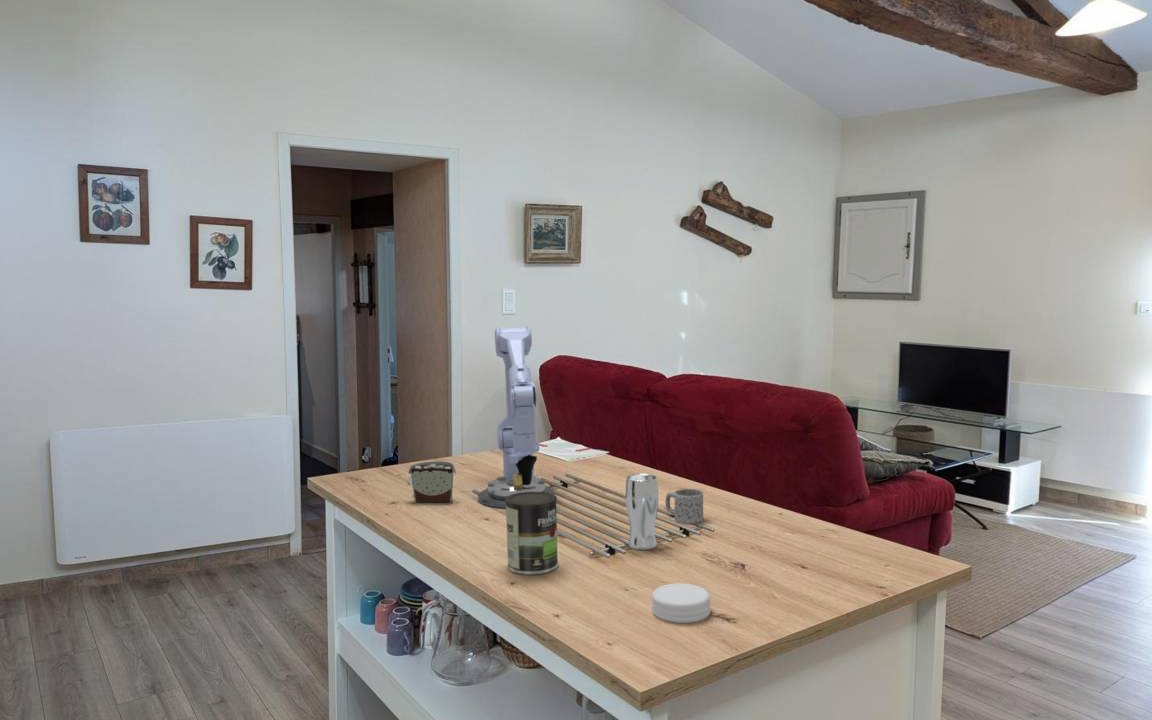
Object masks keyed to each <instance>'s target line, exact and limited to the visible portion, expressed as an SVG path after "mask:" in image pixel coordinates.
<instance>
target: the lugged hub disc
mask: <svg viewBox="0 0 1152 720" xmlns="http://www.w3.org/2000/svg"><path fill="white" fill-rule="evenodd" d="M545 487H546V482H545V479H541V478H538V477H537V478H533V477H532V479H531V484H529V485H523V474H522V473H514V474H513V477H507V478H506V477H504V476H501V477H497V479H493V480H491V481H489V482H488V483H487V489H488V496H489V497H491V498H494V499H498V500H505V498H506V497H508V496H510V495H512V494H516V493H521V492H545Z"/></svg>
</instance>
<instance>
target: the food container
mask: <svg viewBox="0 0 1152 720" xmlns="http://www.w3.org/2000/svg"><path fill="white" fill-rule="evenodd" d="M456 474H457V471H456V467H455V466H454V463H452V462H449V461H440V460H438V461H435V460H434V461H424V462H417V463H415V464H411V465H410V466H409V468H408V475H410V476H411V480H412V484H413V486H412V490H413V497H414V504H415V505H451V504H452V501H453V483H454V475H456Z"/></svg>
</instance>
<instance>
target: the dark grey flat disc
mask: <svg viewBox="0 0 1152 720" xmlns="http://www.w3.org/2000/svg"><path fill="white" fill-rule="evenodd" d="M545 492H546V493H551V494H553V495H555V496H556V493H555V490H554V489H553V488H551V487H549V486H545ZM477 497H478V499H477V500H478V502H479V503H480V504H481V505H483V506H485V507H489V508H493V509H494V508H495V509H502V508H506V503H505V500H498V499H494V498H491V497H489V496H488V488H486V489H484V490H481V491H480V492H479V493H478V496H477Z"/></svg>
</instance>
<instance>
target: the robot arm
mask: <svg viewBox="0 0 1152 720" xmlns="http://www.w3.org/2000/svg"><path fill="white" fill-rule="evenodd" d="M532 339H533V336H532V329H531V327H530V325H528V326H515V327H513V326H512V327H511V326H510V327H499V326H496V328H495V329H494V343H495V344H494V346H495V353H496V356H497V357H499V358H501V359H502V361H503V363H504V373H505V394H506V397H505V398H506V416H505V417H504V418H502V419H501V420H500V421H499V422H498V424H497V432H496V433H497V435H496V436H497V448H498V449H499V451H502V459H503V460H502V461H503V463H502V464H503V477H506V478H507V477H513V474H514V473H522V474H523V485H529V484H531V479H532V477H533V478H538V476H537V475H535V464H536V461H537V460H538V457H537V456H536V455H534V454H536V453H538V452H539V451H540V443H538V442H537V443H536V409H535V408H536V407H537V402H538V400H537V399H538V398H537V395H538V394H537V389H536V385H535V383H534V382H533V380H532V379H533V378H532V374H531V369H530V366H528V365H527V364H526V361H525V360H526V358H525V357H526V356H528V355H529V353H530V351H531V347H532V344H533V343H532V342H533V340H532Z"/></svg>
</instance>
